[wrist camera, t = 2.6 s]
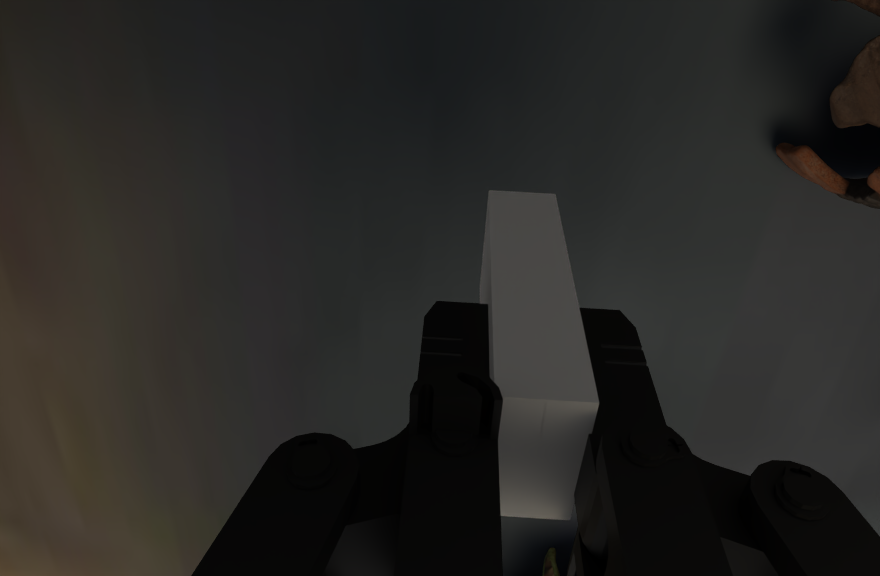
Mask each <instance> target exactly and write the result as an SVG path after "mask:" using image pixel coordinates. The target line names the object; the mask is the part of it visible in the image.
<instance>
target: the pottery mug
mask: <svg viewBox="0 0 880 576" xmlns="http://www.w3.org/2000/svg"><path fill="white" fill-rule="evenodd" d="M833 1H838V0H833ZM845 1H848V2H851V3H854V4H856V5H858V6H859V7H860V8H862V9H865V10H867V11H869V12H872V13H874V14H876V15H878V16H880V0H845ZM829 102H830V109H831V116H832V120H833V122H834V124H835V125H836V126H837V127H838V128H846V127H849V126H860V125H864V124H866V123H869V124H871V125H874V126H877V127H880V35H879V36H877V37H875V38H873V39H872V40H870V41H869V42H868V43H867V44H866V45H865V46H864V48H863V49H862V50H861V52H860V53H859V54H858V55H857V56H856V58H855V59H854V61H853V63H852V65H851V67H850V69H849V71H848V73H847V75H846V77H845V79H844V80H843V81H842V82H841V83H840V84H839V85H838V86H837V87H836V88H835V89H834V90H833V91H832V93H831V95H830V99H829ZM776 153H777V155H778V156H779V157H780V158H781V159H782V160H783V162H784V163H785V164H786V165H787V166H788V167H790V168H791V169H792V170H793V171H795V172H796V173H798V174H799V175H801V176H802V177H804V178H806V179H808V180H810V181H812V182H814V183H816V184H819V185H820V186H822V187H823V188H824V189H826V190H828V191H830V192H833V193H835V194H837V195H838V196H839V197H841V198H844V199H847V200H850V201H854V202H856V203H861V204H864V205H866V206H869V207H872V208H877V209H880V166H879V167H877V168H876V169H875V170H874V171H873V172H872V173H871V174H870V175H869V176H868V178H861V179H849V178H843V177H842V176H840V175H839V174H838V173H836V172H835V171H834V170H833V169H831V168H830V167H829V166H828V165H827V164H826V163H825V162H824V161H823V160H822V159H821V158H819V156H818V155H817V154H816V153H815V152H814V151H813V150H812V149H811V148H810V147H809V146H806V145H801V146H797V147H795V146H794V145H792V144H789V143H780V144H779V145H778V146H777V147H776Z"/></svg>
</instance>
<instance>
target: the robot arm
mask: <svg viewBox="0 0 880 576" xmlns="http://www.w3.org/2000/svg"><path fill="white" fill-rule="evenodd" d="M641 348H642V346H641V343H640V340H639V337H638V333H637V330H636V327H635V326H634V325H633V324H632V323H631V322H630V321H629V320H628V319H627V318H626V317H625V316H624V314H623V313H622V312H621V311H620V310H607V309H591V308H579V304H578V299H577V294H576V290H575V285H574V280H573V275H572V271H571V266H570V261H569V256H568V252H567V247H566V242H565V237H564V233H563V228H562V223H561V218H560V214H559V209H558V204H557V199H556V195H555V194H547V193H529V192H512V191H495V190H489V193H488V204H487V214H486V225H485V236H484V247H483V258H482V269H481V280H480V304H479V303H462V302H446V301H437V302H436V303H435V304H434V305H433V307H432V308H431V309H430V310H429V312H428V313H427V314H426V315H425V317H424V325H423V335H422V344H421V354H420V362H419V371H418V380H417V381H416V382H415V383H414V386H413V388H412V391H411V393H410V420H409V423H408V425H407V427H406V428H405V429H404V430H402V431H401V432H400V433H399V434H398V435H397V436H395V437H393V438H391V439H389V440H387V441H385V442H382V443H379V444H375V445H371V446H367V447H362V448H357V449H353V448H352V447H351V446H350V445H349V444H348V443H347V442H346V441H345V440H343V439H341V438H338V437H336V436H334V435H332V434H323V433H309V434H304V435H299V436H296V437H294V438H292V439H290V440H288V441H286V442H284V443H282V444H281V445H280V446H279V447H278V448H277V449H276V450H275V451H274V452H273V453H272V454H271V455H270V456H269V457H268V459H267V461H266V462H265V464H264V465H263V467H262V468H261V470H260V471H259V473H258V474H257V476H256V477H255V479H254V480H253V482H252V484H251V485H250V487H249V488H248V490H247V491H246V493H245V494H244V496H243V497H242V499H241V500H240V502H239V503H238V505H237V507H236V508H235V510H234V511H233V513H232V514H231V516H230V517H229V519H228V520H227V522H226V523H225V525H224V526H223V528H222V529H221V531H220V533H219V534H218V536H217V537H216V539H215V540H214V542H213V543H212V545H211V546H210V548H209V549H208V551H207V552H206V554H205V556H204V557H203V559H202V560H201V562H200V563H199V565H198V566H197V568H196V569H195V571H194V572H193V574H192V575H191V576H503V567H502V540H501V516H510V517H525V518H540V519H556V520H570V519H571V515H572V511H573V507H574V503H575V506H576V513H577V520H578V529H577V533H576V537H575V541H574V544H573V548H572V552H571V556H570V560H569V563H568V570H567V576H574V575H575V572H577V576H880V536H879V535H878V534H877V533H876V532H875V530H874V529H873V528H872V527H871V525H870V524H869V523H868V522H867V521H866V519H865V518H864V517H863V516H862V515H861V513H860V512H859V511H858V510H857V509H856V507H855V506H854V505H853V504H852V503H851V501H850V500H849V499H848V498H847V497H846V495H845V494H844V493H843V492H842V491H841V490H840V489H839V488H838V487H837V486H836V485H835V484H834V483H833V482H832V481H831V480H830V479H828V478H827V477H826V476H824V475H822V474H821V473H819V472H817V471H815V470H814V469H812V468H810V467H808V466H805V465H802V464H798V463H795V462H792V461H779V460H772V461H769V462H766V463H763V464H760V465H758V467H757V468H756V469H755V470H754V472H753V473H752V474H751V476H749V475H745V474H742V473H739V472H736V471H733V470H730V469H726V468H723V467H720V466H717V465H714V464H712V463H709V462H707V461H704V460H702V459H700V458H698V457H697V456H695V455H693V454H692V452H691V451H690V449H689V447H688V445H687V444H686V442H685V440H684V439H683V438H682V437H681V436H680V435H679V434H677V433H676V432H675V431H674V430H673V429H672V428H670V427H668V426H667V425H666V422H665V419H664V416H663V413H662V410H661V406H660V403H659V400H658V397H657V394H656V391H655V387H654V384H653V381H652V378H651V375H650V372H649V368H648V366H646V363H647V362H646V359H645V356H644V352H643V350H641Z"/></svg>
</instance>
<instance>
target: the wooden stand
mask: <svg viewBox="0 0 880 576" xmlns="http://www.w3.org/2000/svg"><path fill="white" fill-rule="evenodd" d="M542 576H560V574H559V570H558V567H557V564H556V550H555V548H550V549H549V550H548V552H547V554H546V556H545V560H544V565H543V575H542Z"/></svg>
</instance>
